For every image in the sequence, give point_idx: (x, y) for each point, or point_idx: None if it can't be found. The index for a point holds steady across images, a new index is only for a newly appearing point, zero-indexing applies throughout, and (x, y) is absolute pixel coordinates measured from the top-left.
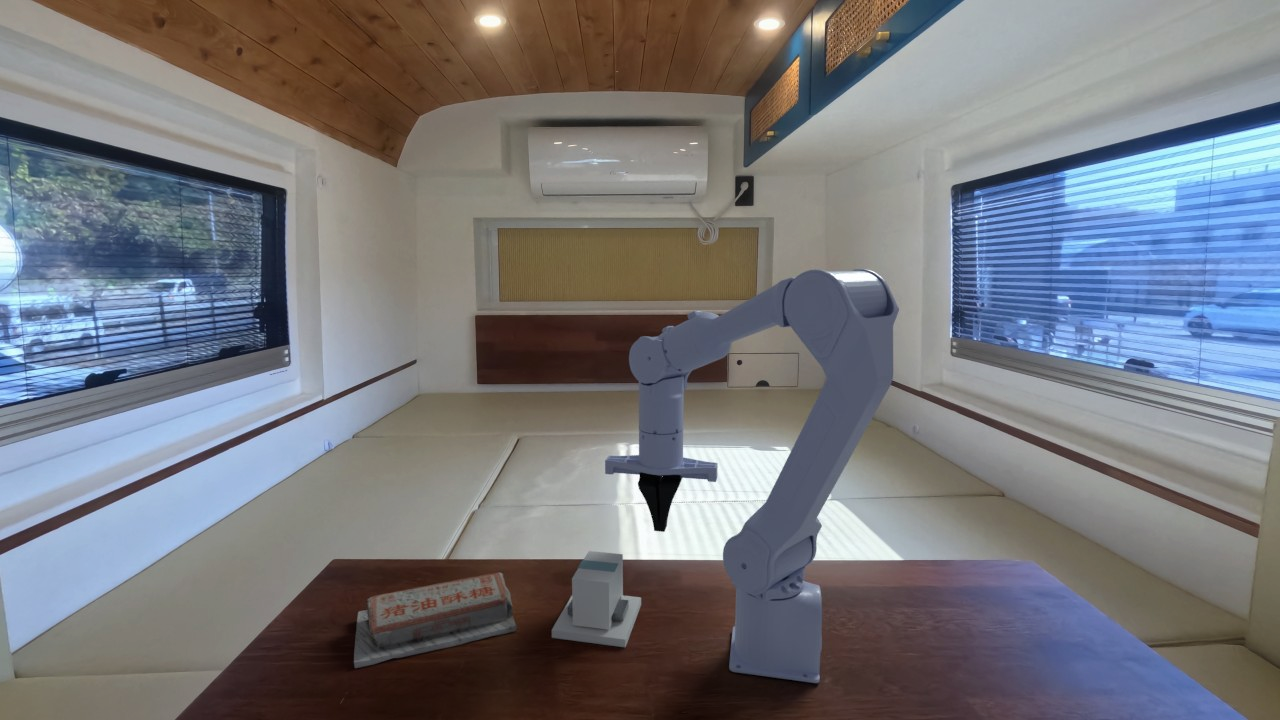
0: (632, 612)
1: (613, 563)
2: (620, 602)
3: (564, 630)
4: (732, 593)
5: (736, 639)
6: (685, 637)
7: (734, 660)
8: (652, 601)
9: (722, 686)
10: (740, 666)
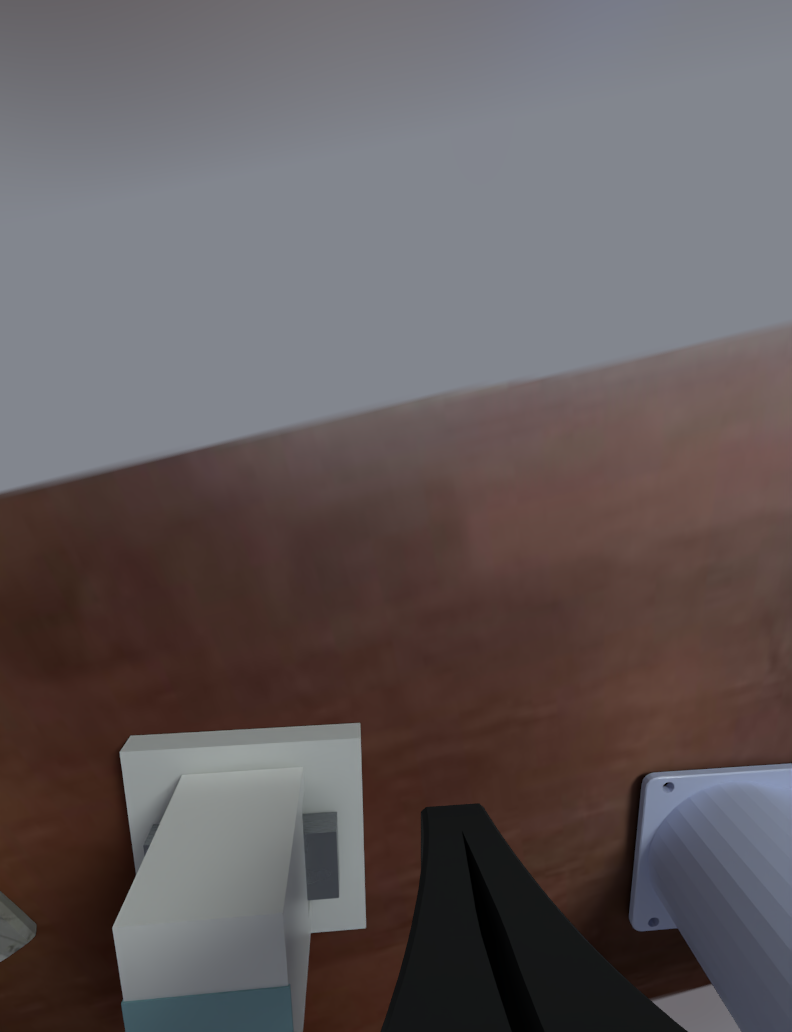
0: (353, 818)
1: (268, 993)
2: (313, 848)
3: None
4: (644, 590)
5: (671, 915)
6: (513, 829)
7: (645, 905)
8: (391, 696)
9: (610, 957)
10: (657, 917)
